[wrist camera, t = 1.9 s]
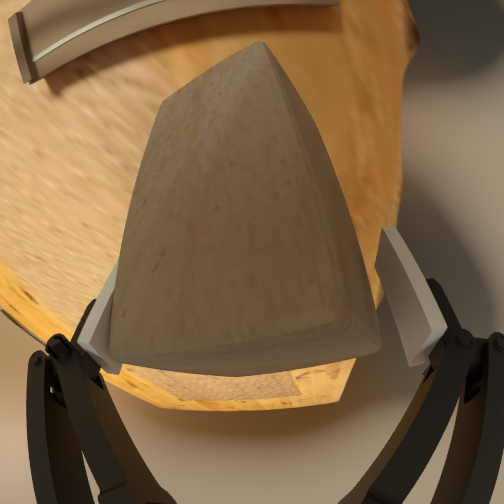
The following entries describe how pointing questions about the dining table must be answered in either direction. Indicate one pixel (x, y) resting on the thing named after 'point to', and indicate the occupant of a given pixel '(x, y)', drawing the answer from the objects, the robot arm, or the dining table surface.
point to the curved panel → (103, 25)
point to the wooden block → (239, 236)
